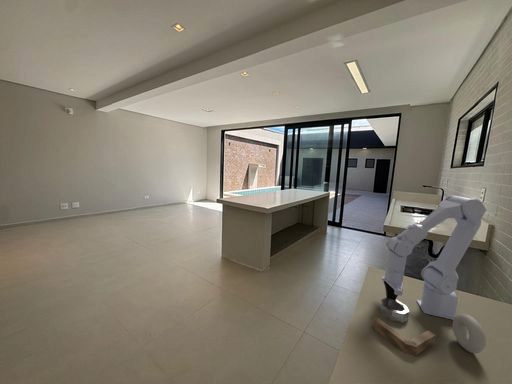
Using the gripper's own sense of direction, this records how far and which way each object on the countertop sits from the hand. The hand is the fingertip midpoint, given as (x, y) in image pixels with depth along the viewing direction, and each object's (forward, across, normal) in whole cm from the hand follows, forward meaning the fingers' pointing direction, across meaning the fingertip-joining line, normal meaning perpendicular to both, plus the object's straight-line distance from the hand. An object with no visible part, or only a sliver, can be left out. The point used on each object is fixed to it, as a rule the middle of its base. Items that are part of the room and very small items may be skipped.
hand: (390, 301), depth 83 cm
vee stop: (+1, +19, 0) cm, 19 cm away
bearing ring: (+1, +5, 0) cm, 5 cm away
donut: (+2, +13, +17) cm, 22 cm away
